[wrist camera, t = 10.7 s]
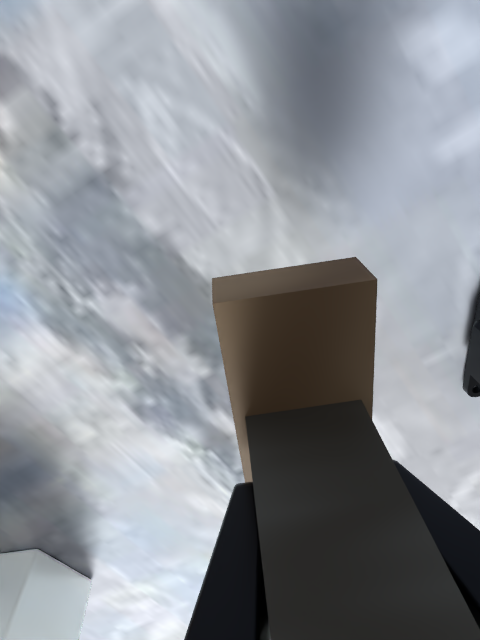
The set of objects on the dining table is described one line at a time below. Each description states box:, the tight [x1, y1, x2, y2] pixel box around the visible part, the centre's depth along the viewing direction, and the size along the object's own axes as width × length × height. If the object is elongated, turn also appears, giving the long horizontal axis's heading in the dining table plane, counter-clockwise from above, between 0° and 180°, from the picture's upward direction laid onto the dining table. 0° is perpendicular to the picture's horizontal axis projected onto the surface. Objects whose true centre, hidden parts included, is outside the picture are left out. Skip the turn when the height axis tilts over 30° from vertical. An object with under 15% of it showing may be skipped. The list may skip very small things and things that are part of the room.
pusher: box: [212, 257, 480, 640], centre depth 7 cm, size 3×8×6 cm, turn 7°
